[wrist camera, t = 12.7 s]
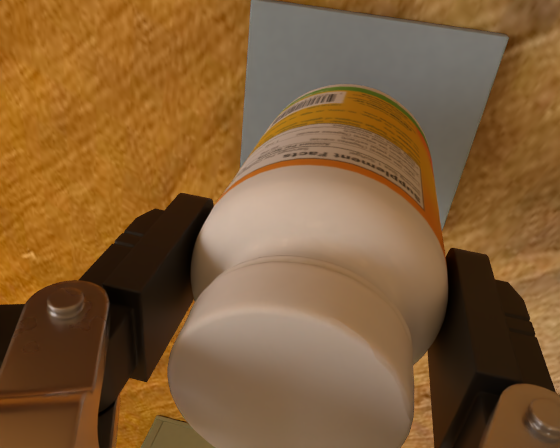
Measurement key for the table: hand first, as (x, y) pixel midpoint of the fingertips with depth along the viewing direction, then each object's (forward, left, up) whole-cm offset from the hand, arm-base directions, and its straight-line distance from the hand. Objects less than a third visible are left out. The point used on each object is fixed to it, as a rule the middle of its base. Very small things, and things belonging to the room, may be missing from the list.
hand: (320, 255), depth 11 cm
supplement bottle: (0, 0, -6) cm, 6 cm away
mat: (0, 0, -10) cm, 10 cm away
